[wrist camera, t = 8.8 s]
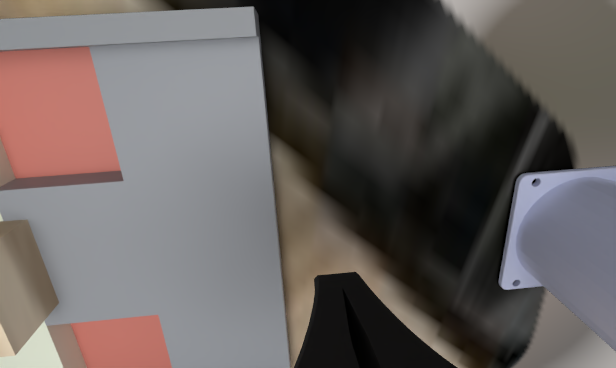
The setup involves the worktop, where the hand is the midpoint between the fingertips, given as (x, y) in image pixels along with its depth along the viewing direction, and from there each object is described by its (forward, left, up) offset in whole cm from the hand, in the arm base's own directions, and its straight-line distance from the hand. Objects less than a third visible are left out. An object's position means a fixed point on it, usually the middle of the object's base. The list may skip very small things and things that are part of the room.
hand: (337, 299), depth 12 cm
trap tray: (+11, +2, -9) cm, 15 cm away
